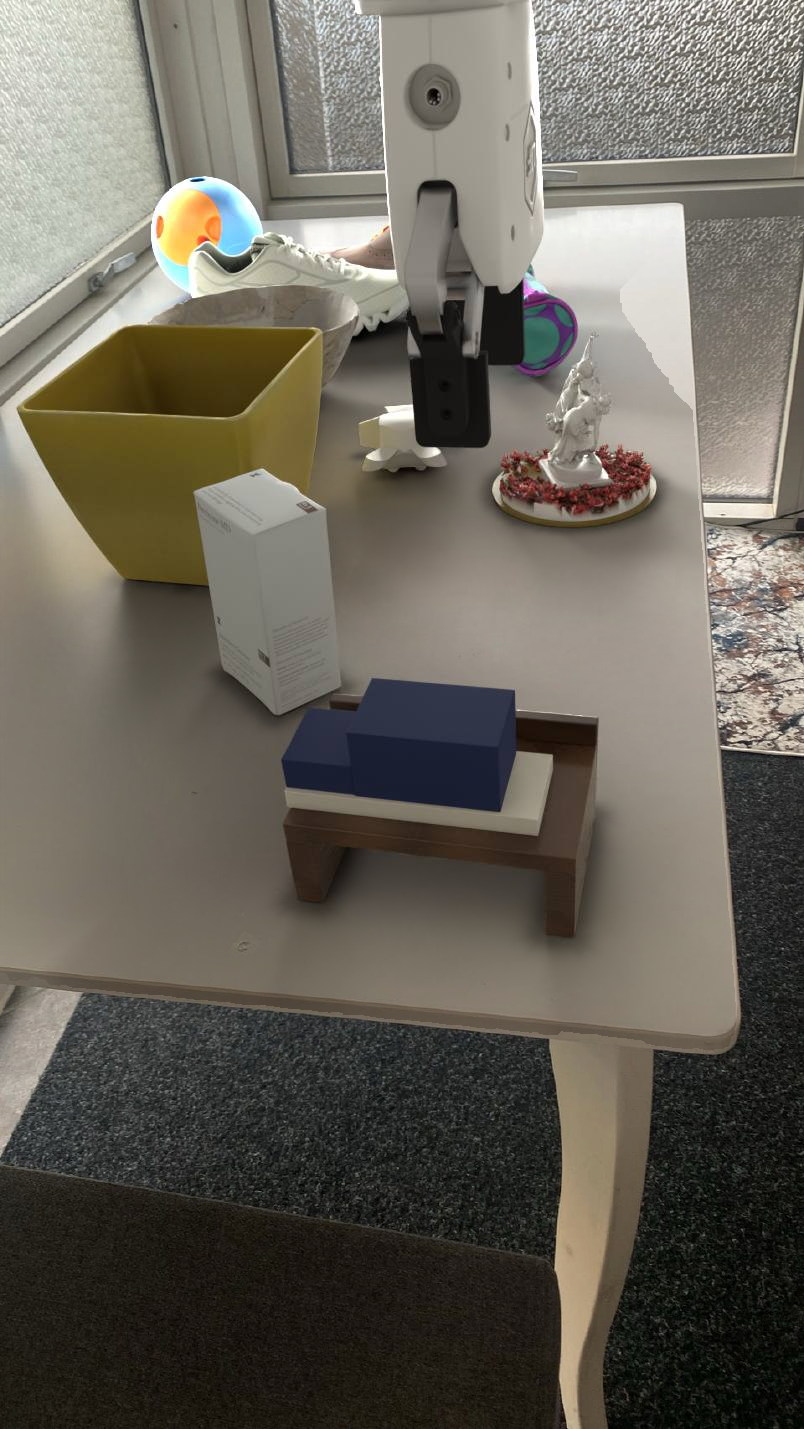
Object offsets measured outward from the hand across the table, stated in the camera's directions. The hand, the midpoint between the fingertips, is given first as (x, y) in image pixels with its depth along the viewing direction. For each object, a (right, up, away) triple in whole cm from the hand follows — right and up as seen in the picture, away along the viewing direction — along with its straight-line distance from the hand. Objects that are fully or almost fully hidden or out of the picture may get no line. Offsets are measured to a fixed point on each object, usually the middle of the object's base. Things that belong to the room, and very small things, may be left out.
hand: (474, 401), depth 52 cm
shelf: (0, -23, +15) cm, 27 cm away
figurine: (+13, +6, +52) cm, 54 cm away
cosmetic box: (-12, -12, +31) cm, 35 cm away
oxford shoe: (-3, +44, +104) cm, 113 cm away
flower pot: (-20, 0, +48) cm, 52 cm away
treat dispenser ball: (-30, +46, +110) cm, 123 cm away
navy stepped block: (-2, -19, +11) cm, 22 cm away
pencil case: (+11, +29, +82) cm, 87 cm away
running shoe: (-16, +35, +93) cm, 101 cm away
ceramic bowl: (-19, +20, +74) cm, 79 cm away
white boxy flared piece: (-3, +10, +59) cm, 60 cm away
